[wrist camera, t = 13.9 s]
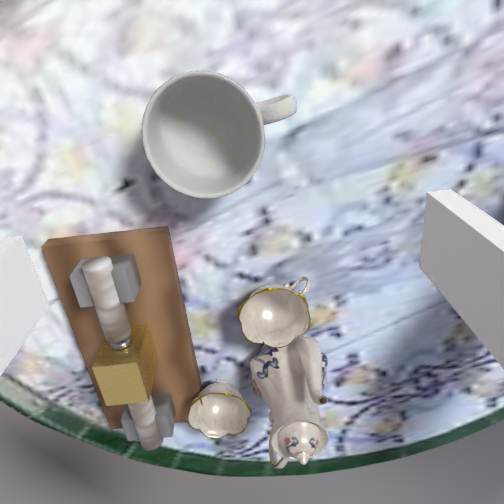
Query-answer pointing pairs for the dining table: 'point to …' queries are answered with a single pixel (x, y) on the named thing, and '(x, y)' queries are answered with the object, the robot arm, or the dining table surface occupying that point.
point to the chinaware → (274, 378)
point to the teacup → (207, 133)
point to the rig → (130, 318)
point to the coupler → (127, 367)
